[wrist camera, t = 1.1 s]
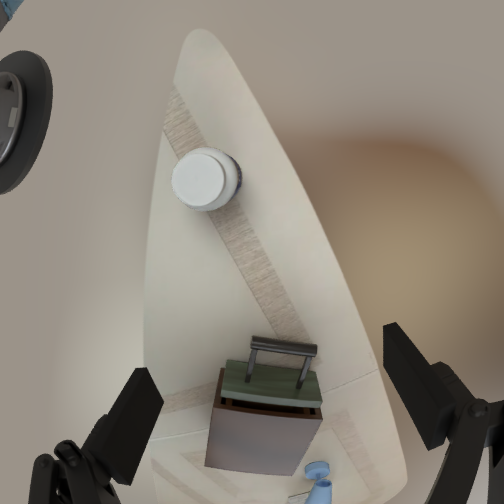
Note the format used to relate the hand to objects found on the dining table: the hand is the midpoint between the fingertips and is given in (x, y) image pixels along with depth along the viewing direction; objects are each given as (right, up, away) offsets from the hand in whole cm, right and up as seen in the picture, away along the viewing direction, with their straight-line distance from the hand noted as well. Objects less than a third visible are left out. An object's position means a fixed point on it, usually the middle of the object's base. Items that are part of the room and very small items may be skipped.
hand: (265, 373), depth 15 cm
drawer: (+1, -11, +21) cm, 24 cm away
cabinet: (0, -16, +23) cm, 28 cm away
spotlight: (+11, -34, +28) cm, 45 cm away
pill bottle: (-4, +14, +16) cm, 21 cm away
